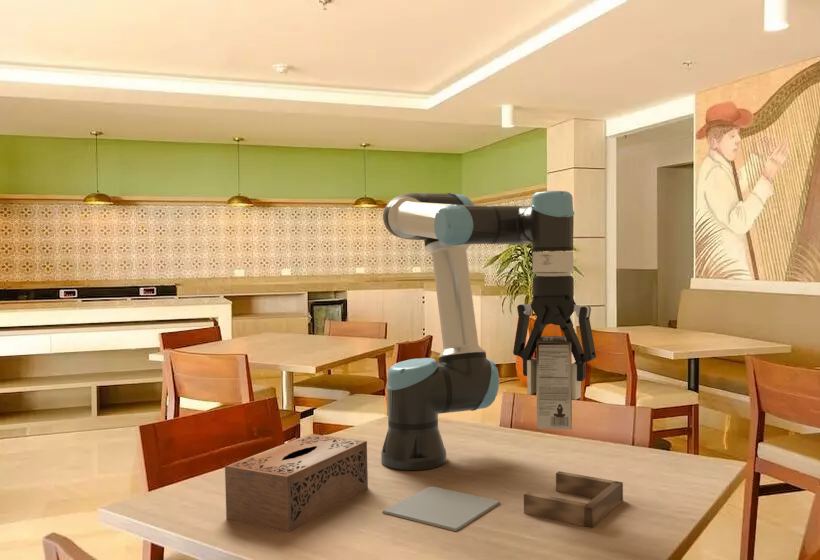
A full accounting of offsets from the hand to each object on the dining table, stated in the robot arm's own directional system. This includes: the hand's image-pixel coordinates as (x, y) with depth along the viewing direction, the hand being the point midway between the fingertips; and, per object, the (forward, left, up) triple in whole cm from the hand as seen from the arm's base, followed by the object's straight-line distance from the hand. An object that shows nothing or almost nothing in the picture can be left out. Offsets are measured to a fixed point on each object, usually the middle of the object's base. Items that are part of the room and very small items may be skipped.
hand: (553, 395), depth 129 cm
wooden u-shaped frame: (+3, +1, -21) cm, 21 cm away
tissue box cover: (-42, -25, -21) cm, 53 cm away
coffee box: (0, 0, -5) cm, 5 cm away
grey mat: (-17, -13, -21) cm, 30 cm away
